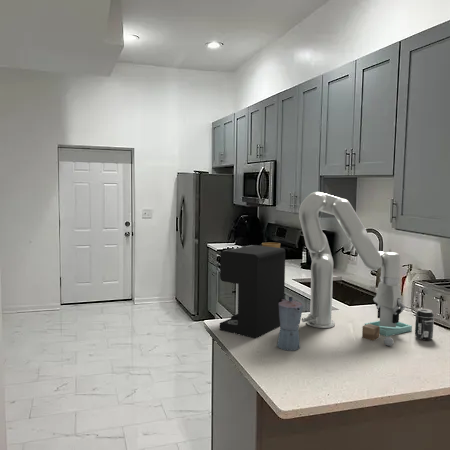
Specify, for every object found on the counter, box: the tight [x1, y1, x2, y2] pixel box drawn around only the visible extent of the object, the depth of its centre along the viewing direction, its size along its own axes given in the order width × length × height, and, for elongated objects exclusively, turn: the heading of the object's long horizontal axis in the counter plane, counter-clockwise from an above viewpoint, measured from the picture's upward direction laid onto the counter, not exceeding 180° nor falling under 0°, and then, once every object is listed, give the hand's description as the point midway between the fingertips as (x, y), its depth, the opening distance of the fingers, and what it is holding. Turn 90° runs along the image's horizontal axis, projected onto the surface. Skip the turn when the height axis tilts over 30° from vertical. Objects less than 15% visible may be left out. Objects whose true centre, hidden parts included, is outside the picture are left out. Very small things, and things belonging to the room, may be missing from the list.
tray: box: [364, 320, 413, 338], centre depth 201 cm, size 16×12×2 cm
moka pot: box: [277, 296, 304, 352], centre depth 178 cm, size 10×15×20 cm, turn 27°
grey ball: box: [383, 336, 394, 347], centre depth 181 cm, size 4×4×4 cm
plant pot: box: [261, 242, 281, 248], centre depth 369 cm, size 15×15×16 cm
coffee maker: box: [219, 244, 287, 340], centre depth 203 cm, size 28×20×35 cm
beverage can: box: [414, 308, 435, 341], centre depth 190 cm, size 7×7×12 cm
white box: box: [379, 306, 397, 328], centre depth 201 cm, size 4×7×10 cm, turn 70°
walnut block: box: [361, 324, 380, 342], centre depth 190 cm, size 5×5×5 cm
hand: (387, 320), depth 201 cm, fingers closed on white box, 7 cm apart
